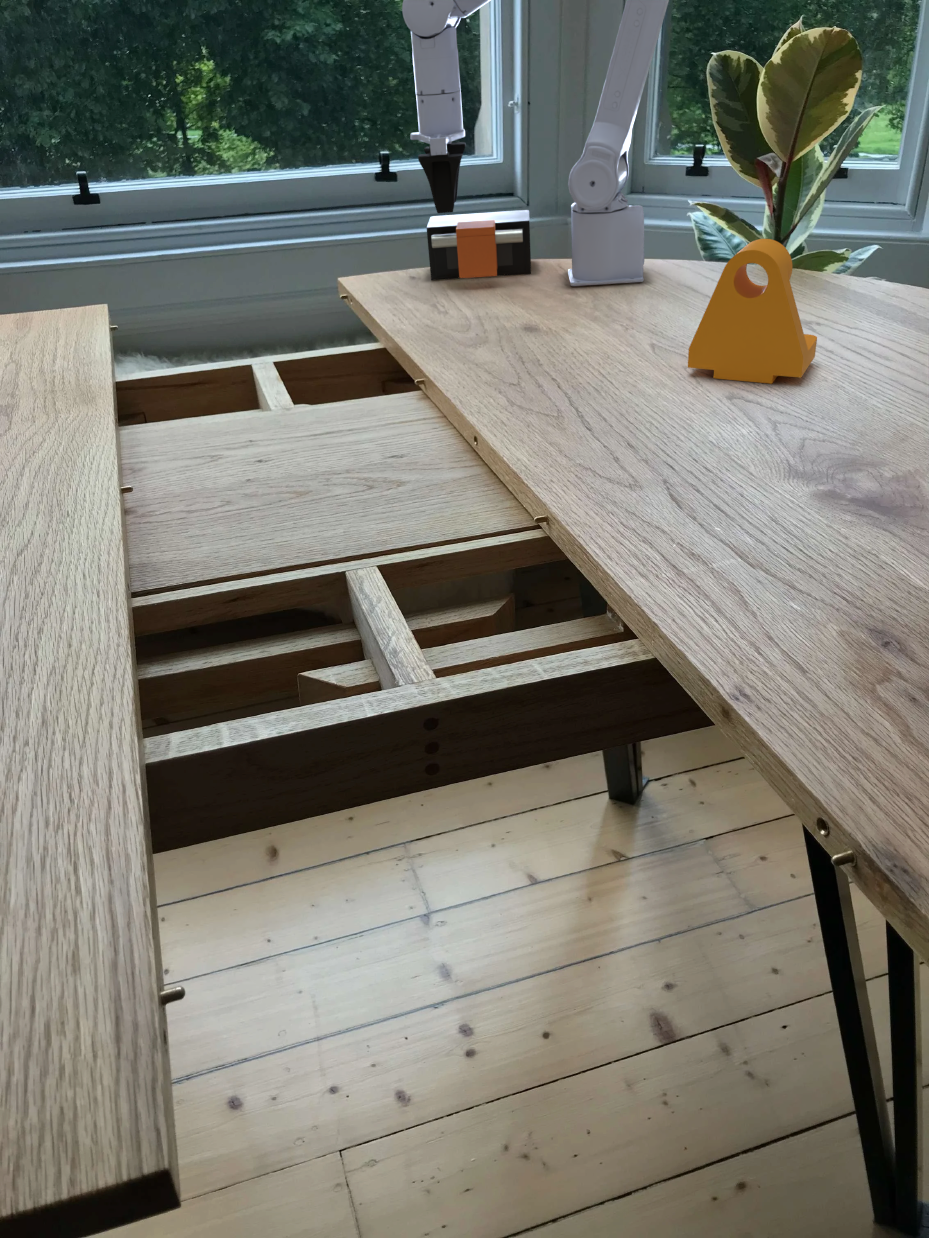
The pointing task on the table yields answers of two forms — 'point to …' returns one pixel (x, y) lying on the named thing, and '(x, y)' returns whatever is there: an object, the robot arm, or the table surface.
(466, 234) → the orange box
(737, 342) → the bracket
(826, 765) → the table surface
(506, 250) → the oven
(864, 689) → the table surface
